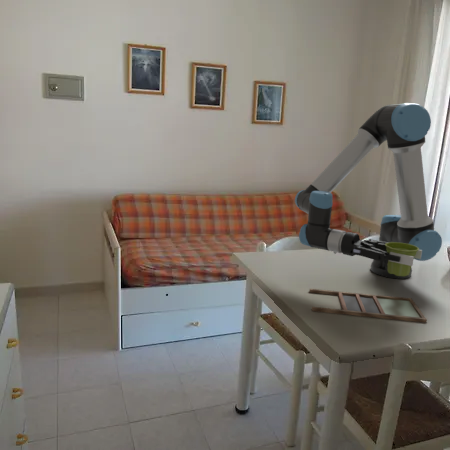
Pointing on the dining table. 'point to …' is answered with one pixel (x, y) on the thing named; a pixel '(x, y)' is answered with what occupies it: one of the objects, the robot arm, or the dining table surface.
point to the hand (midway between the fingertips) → (417, 257)
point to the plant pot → (401, 249)
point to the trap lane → (374, 306)
